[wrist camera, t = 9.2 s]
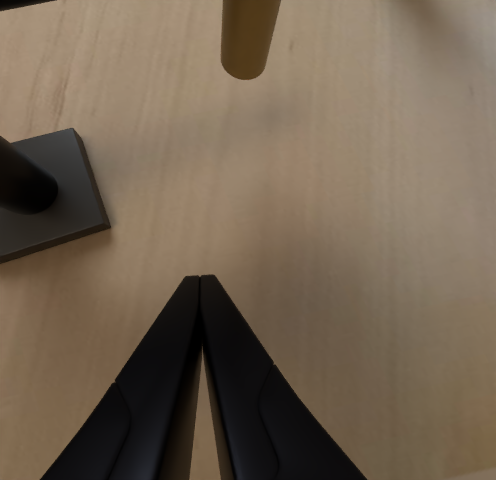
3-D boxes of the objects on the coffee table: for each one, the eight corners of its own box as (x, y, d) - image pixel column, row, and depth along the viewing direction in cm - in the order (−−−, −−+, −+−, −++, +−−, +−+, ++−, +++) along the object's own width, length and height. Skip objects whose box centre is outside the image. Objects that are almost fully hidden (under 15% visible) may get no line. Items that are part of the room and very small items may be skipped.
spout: (-95, 198, 11) (-559, 57, 4) (-119, 118, 11) (-570, -119, 5) (278, 84, 14) (334, -89, 8) (248, 26, 15) (278, -183, 8)
